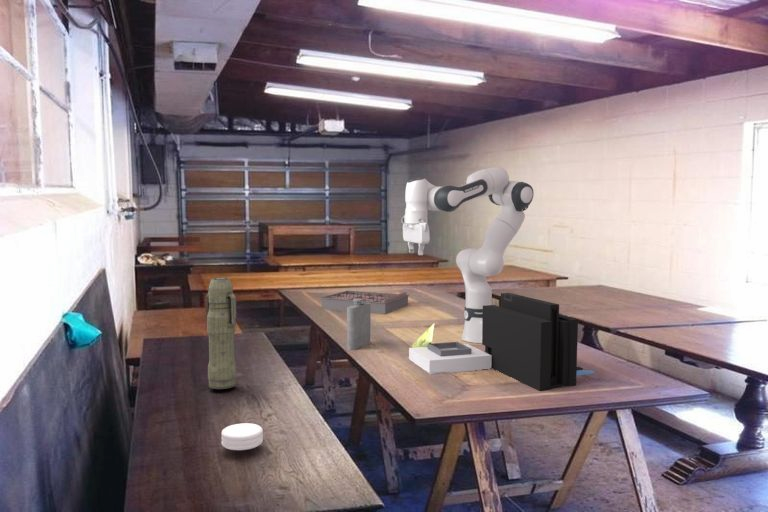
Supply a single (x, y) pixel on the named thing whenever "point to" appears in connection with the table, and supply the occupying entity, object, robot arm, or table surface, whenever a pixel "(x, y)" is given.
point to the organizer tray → (365, 301)
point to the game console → (532, 342)
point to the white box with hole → (450, 358)
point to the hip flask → (358, 325)
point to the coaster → (242, 436)
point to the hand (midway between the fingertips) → (416, 254)
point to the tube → (425, 338)
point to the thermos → (221, 333)
